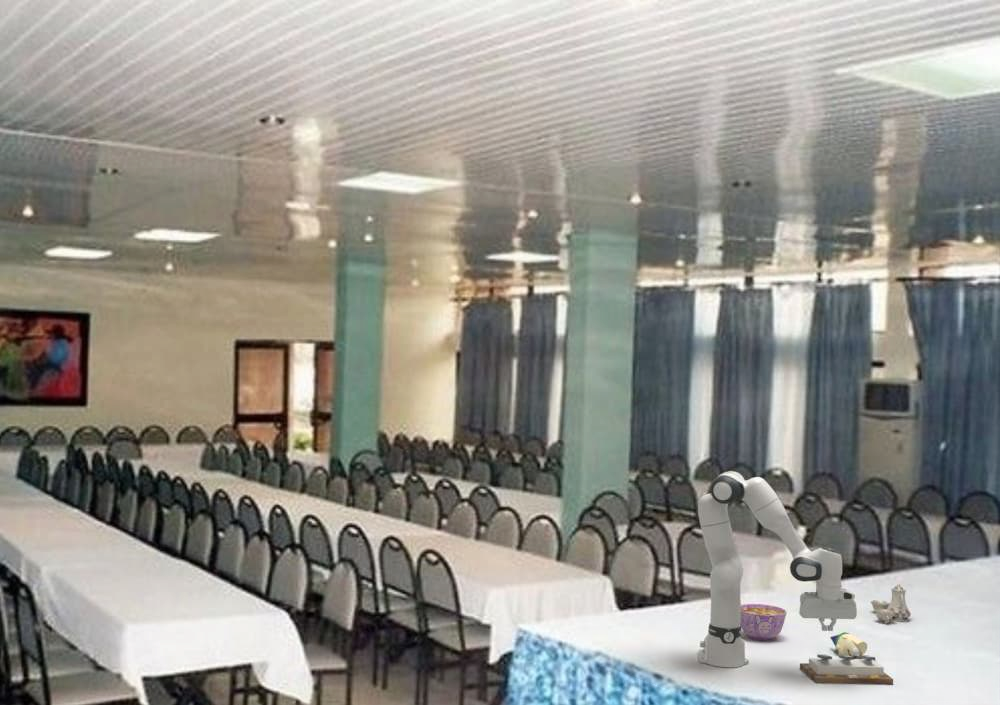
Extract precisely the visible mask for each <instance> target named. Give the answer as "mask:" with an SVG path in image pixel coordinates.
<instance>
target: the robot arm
mask: <svg viewBox="0 0 1000 705" xmlns="http://www.w3.org/2000/svg"><path fill="white" fill-rule="evenodd" d="M742 501H743V502H744V503H745V504H746V505H747V506H748V508H749V510H750V511H751V513H752V515H753V516H754V517H755V519H756V521H758V523H759V524H760V525H761V526H762V527H763V528H764V529H766V530H769V531H772V532H773V533H774V534H776V535H777V536H778V537H779V538H780V539H781V541H782V542H783V544H784V545H785V547H786V548H787V550H788V552H790V554H791V556H792V561H791V562H790V566H789V571H790V574H791V576H792V577H793V578H794V579H796V581H799V582H803V583H804V582H805V583H806V582H814V581H815V584H816V586H815V591H810V592H809V591H805V592H803V593H801V594H800V596H799V602H800V605H799V612H798V614H799V615H800V617H801V618H802V619H818V622H819V623H820V625H821V631H822V632H827V631H828V632H833V631H834V626H836V624H837V620H855V619H856V618H857V616H858V614H857V613H858V611H857V610H858V608H857V603H856V601H855V595H856V594H854V593H853V592H852V591H850V590H847V589H845V588H843V587H842V584H843V583H842V578H841V577H842V575H843V558H842V557H843V556H842V554H841V552H840V551H839V550H838V549H836V548H833V547H829V546H820V547H819V548H817V549H814V550H813V549H811V548H810V547H809V546H808V545H807V544H806V543H805V542H804V540H803V539H802V537H801V536H800V534H799V533H798V531H797V530H796V528H795V526H794V525H793V523H792V521H791V519H790V517H789V515H788V513H787V510H786V508H785V507H784V504H783V503H782V501H781V499H780V498H779V496H778V495H777V493H776V492H775V490H774V489H773V488H772V487H771V485H770V484H769V483H768V482H767V480H765V479H764V478H762V477H760V476H755V477H751V478H749V479H747V478H746V477H745V475H743V473H742V472H739V471H738V470H733V469H732V470H728V471H724V472H722V473H720V474H719V475H718V476H717V477H715V478H714V479H713V480H712V482H711V485H710V493H707V494H704V495H702V496H701V497H700V498H699V499H698V502H697V505H698V506H697V509H698V518H699V525H700V530H701V533H702V537H703V542H704V545H705V546H704V547H705V549H706V551H707V553H708V557H709V560H710V563H711V567H712V568H711V570H710V575H709V577H710V579H709V581H710V583H709V584H710V620H709V621H710V622H709V624H708V630H707V635H706V636H705V637H704V640H701V641H700V642H699V644H700V645H699V647H700V649H698V650H697V656H698V662H699V663H703V664H707V665H711V666H713V667H719V668H720V667H721V668H738V667H742V666H743V665H746V664H749V663H750V660H749V659H748V658H746V643H745V640H744V639H743V638H742V633H743V632H742V631H743V630H742V628H741V626H740V616H741V605H742V603H741V602H742V600H741V582H742V581H741V580H742V578H743V575H744V568H743V563H742V560H741V556H740V553H739V550H738V547H737V544H736V542H735V536H734V532H733V529H732V524H731V520H730V517H729V515H730V514H729V512H728V510H729V509H728V507H729V504H733V503H738V502H742ZM826 619H827V620H829V619H830V621H831V622H830V624H827V625H826V624H825V623H824V622H825V620H826ZM701 648H702V649H701Z"/></svg>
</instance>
